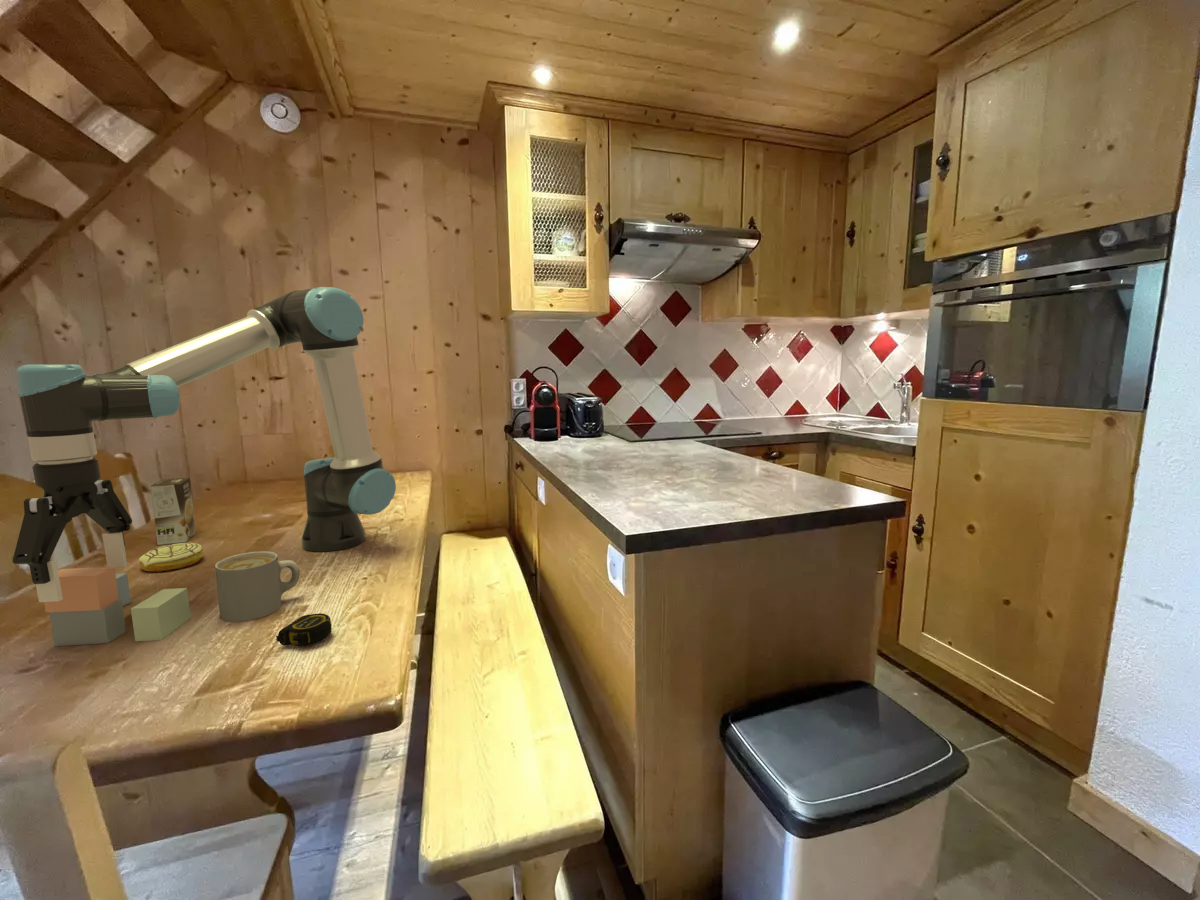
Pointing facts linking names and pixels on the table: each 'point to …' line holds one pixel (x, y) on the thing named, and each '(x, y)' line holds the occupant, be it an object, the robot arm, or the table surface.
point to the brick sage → (160, 614)
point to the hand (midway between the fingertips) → (86, 583)
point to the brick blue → (123, 588)
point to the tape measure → (306, 630)
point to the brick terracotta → (85, 589)
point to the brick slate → (88, 625)
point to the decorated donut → (171, 557)
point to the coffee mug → (252, 585)
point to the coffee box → (173, 510)
